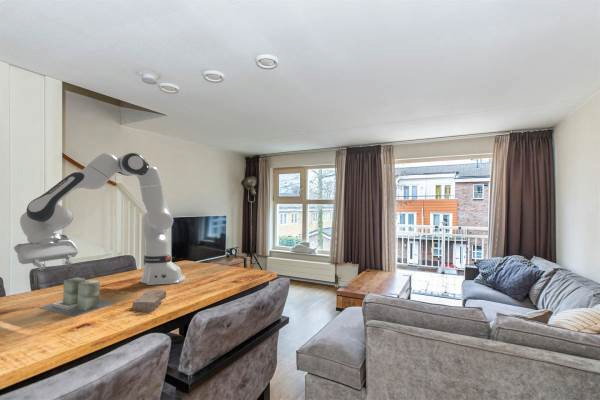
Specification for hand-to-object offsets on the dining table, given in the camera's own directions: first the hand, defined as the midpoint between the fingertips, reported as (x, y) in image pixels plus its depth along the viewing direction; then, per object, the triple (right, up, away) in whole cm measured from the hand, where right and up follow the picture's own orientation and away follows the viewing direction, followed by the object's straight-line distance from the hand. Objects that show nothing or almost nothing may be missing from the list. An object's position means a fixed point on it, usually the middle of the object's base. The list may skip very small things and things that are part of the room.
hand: (56, 266), depth 119 cm
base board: (+14, -15, -6) cm, 21 cm away
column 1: (+11, -14, -5) cm, 18 cm away
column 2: (+19, -14, -8) cm, 25 cm away
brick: (+40, -17, 0) cm, 43 cm away
